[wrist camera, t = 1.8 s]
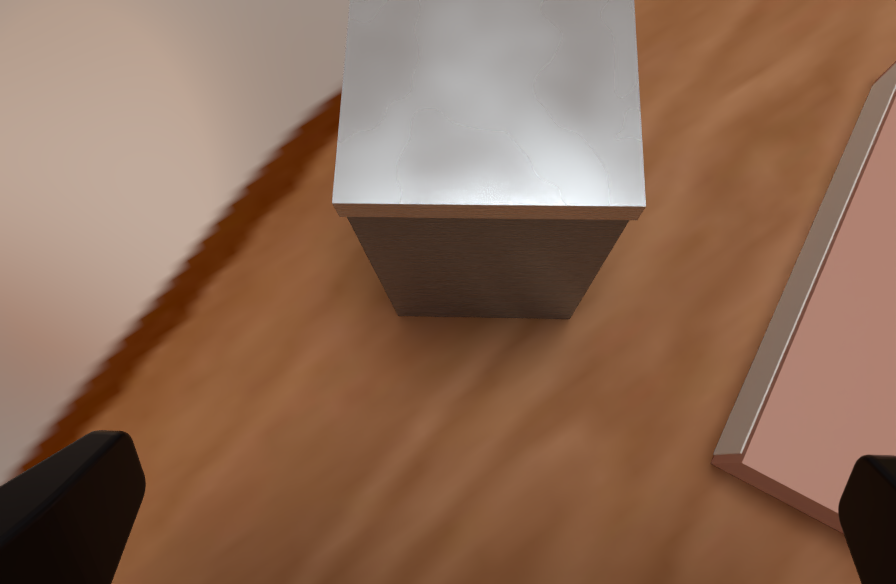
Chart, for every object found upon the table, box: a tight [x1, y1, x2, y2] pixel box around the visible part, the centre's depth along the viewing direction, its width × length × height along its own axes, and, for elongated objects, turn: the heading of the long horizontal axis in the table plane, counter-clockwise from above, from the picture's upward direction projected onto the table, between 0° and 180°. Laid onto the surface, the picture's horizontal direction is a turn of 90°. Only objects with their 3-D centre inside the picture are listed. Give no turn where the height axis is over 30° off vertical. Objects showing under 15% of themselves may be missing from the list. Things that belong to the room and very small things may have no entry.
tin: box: [332, 0, 646, 319], centre depth 18 cm, size 6×6×10 cm
